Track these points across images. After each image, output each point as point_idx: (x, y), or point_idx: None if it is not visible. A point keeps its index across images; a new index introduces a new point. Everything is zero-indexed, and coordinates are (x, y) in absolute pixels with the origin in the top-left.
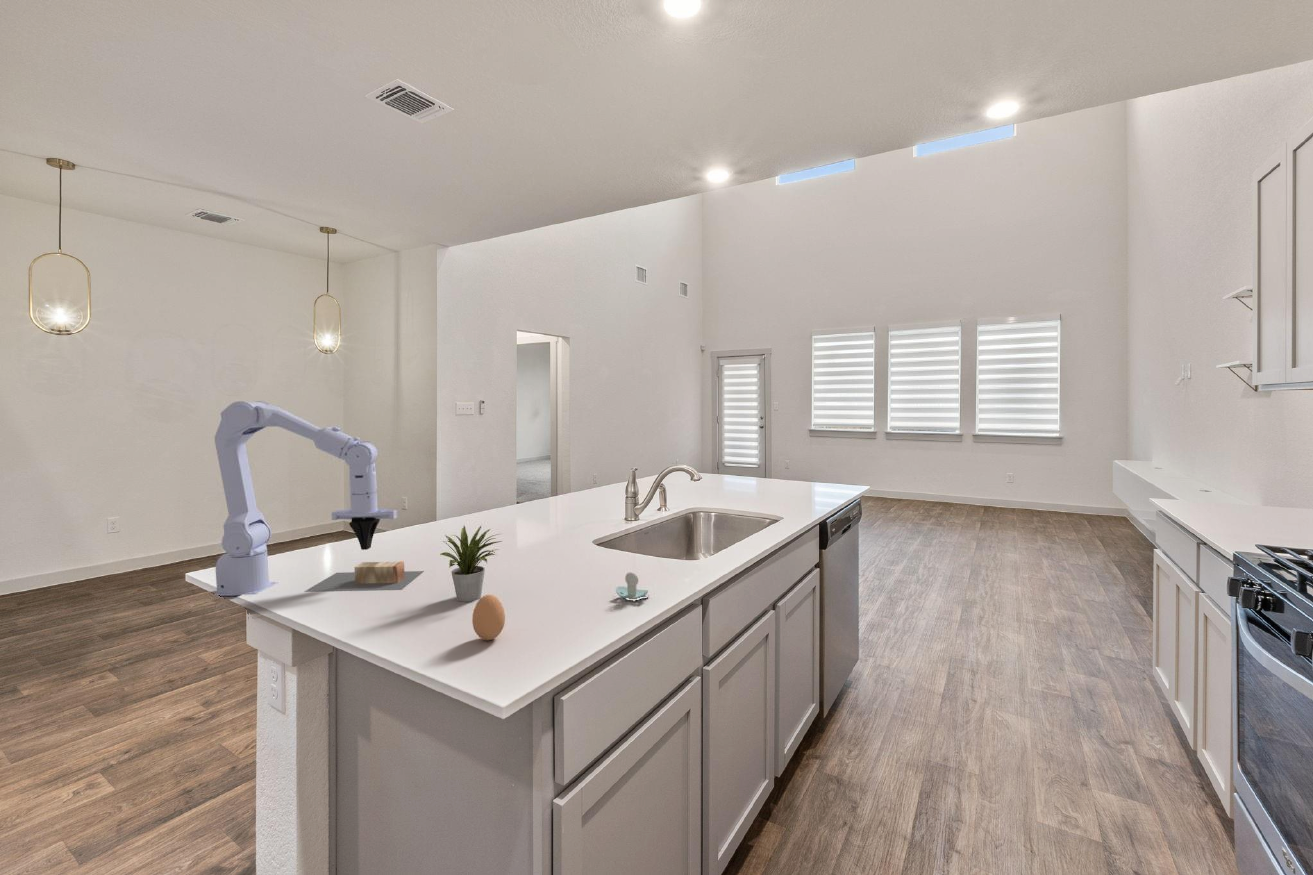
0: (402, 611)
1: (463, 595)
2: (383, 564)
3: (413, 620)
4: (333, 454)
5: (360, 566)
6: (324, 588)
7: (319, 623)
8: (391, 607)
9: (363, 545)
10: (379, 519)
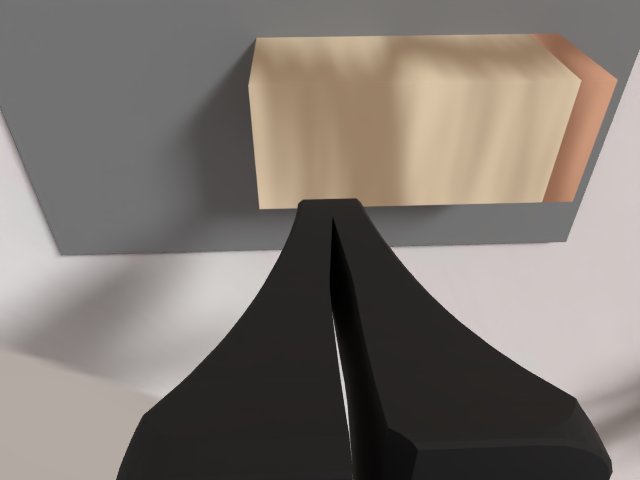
0: (586, 391)
1: None
2: (459, 156)
3: (624, 433)
4: None
5: (298, 197)
6: (136, 218)
7: None
8: (543, 367)
9: (332, 306)
10: (599, 468)
